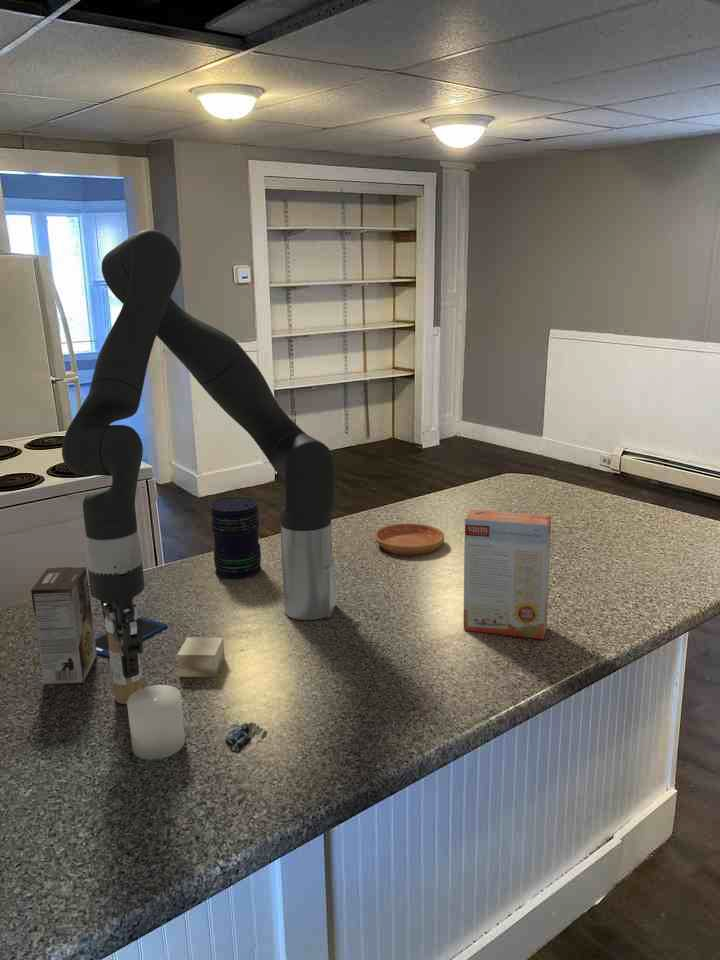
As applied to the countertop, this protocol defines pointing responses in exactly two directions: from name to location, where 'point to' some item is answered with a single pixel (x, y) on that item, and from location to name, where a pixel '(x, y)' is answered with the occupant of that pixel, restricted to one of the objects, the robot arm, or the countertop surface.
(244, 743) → the blueberries
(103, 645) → the cell phone
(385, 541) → the saucer
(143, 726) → the cream canister
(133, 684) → the sprinkles bottle
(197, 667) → the maple block
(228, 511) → the storage jar
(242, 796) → the countertop surface
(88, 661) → the coffee box
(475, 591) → the cracker box
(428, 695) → the countertop surface
